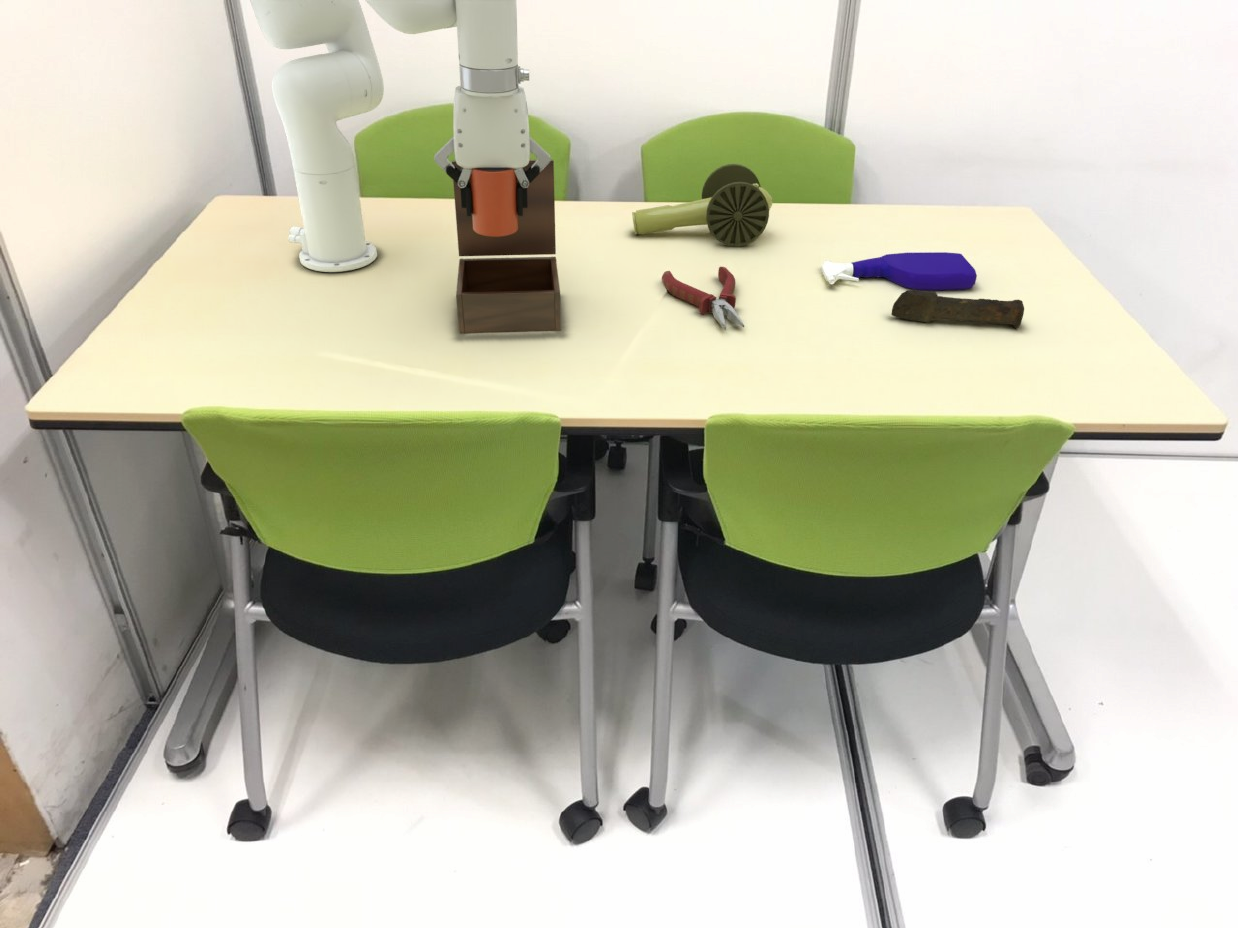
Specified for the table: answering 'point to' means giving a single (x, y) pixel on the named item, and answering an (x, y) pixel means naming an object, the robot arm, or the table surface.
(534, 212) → the lid
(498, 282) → the box
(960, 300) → the hand tool
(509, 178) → the tin
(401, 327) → the table surface
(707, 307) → the pliers
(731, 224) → the cannon
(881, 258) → the spray bottle
